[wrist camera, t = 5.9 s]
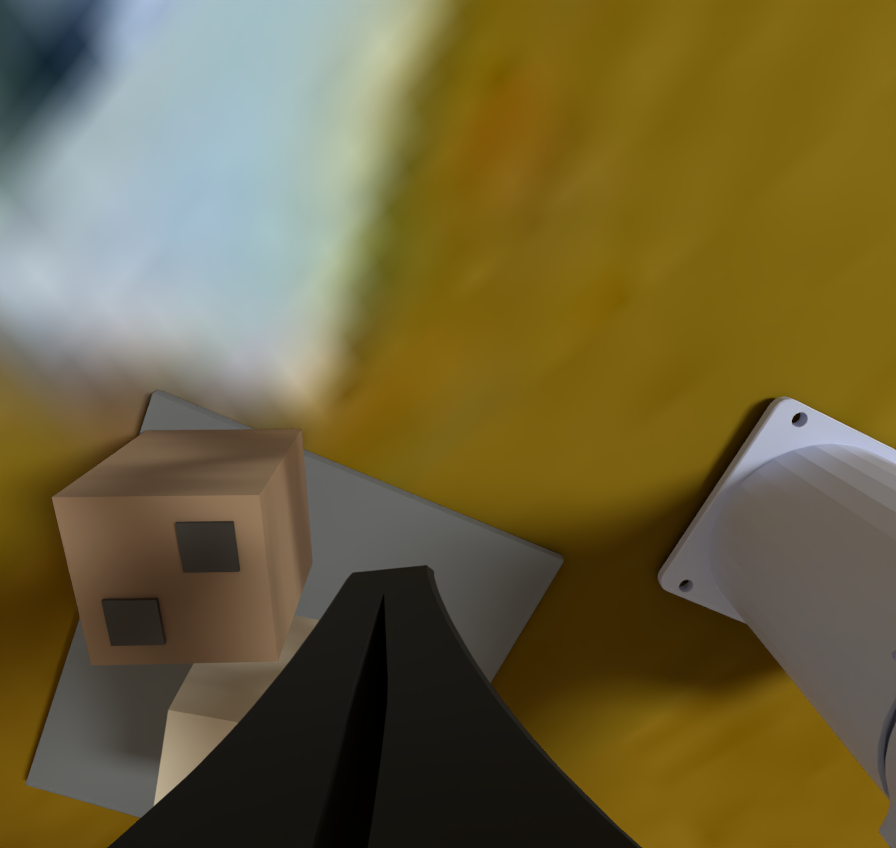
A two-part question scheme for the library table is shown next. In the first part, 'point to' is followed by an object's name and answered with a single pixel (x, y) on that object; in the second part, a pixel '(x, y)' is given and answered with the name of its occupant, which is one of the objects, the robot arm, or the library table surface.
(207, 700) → the plain block
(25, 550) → the library table surface
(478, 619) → the felt mat
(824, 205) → the library table surface
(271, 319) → the library table surface
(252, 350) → the library table surface
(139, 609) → the pip block two
